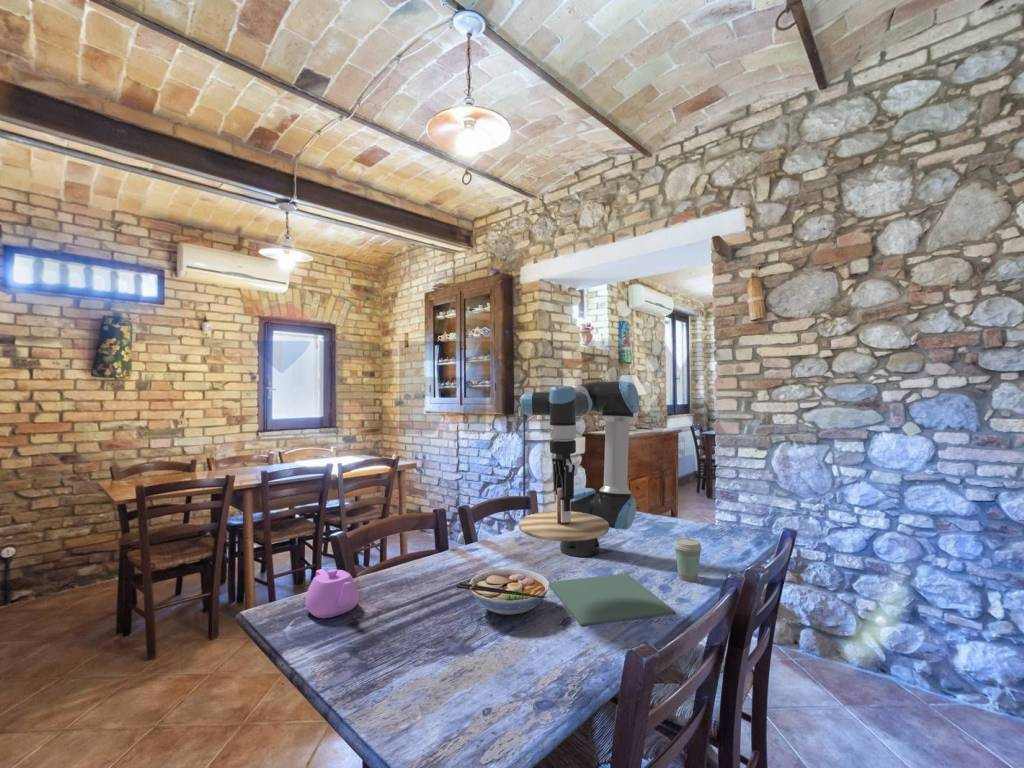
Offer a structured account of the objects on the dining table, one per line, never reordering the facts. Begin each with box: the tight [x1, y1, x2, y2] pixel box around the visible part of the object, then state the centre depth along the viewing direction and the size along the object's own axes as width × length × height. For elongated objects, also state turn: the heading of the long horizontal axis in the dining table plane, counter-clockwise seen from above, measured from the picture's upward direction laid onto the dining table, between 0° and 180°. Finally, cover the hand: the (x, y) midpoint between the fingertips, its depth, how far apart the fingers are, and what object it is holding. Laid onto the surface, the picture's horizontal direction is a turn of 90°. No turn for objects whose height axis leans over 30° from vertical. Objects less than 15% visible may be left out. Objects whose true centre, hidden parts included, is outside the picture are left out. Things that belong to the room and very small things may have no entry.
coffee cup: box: [673, 537, 702, 583], centre depth 160 cm, size 9×8×12 cm
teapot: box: [305, 568, 360, 619], centre depth 138 cm, size 13×20×11 cm
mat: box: [549, 573, 676, 627], centre depth 145 cm, size 28×28×1 cm
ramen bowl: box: [456, 567, 550, 616], centre depth 138 cm, size 25×23×8 cm
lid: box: [518, 488, 610, 542], centre depth 142 cm, size 26×26×11 cm
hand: (563, 519), depth 142 cm, fingers closed on lid, 4 cm apart
